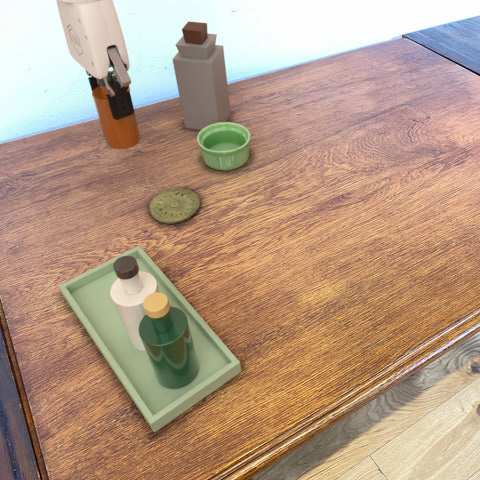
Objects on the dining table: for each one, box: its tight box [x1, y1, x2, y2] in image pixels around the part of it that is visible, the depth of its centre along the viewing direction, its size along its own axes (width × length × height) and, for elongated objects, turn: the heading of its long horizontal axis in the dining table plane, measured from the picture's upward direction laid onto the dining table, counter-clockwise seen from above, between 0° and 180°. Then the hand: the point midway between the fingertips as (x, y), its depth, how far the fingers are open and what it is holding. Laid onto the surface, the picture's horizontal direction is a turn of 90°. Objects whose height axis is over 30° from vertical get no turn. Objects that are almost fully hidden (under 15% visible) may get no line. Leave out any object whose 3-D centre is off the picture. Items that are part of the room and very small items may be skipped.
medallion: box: [148, 187, 202, 225], centre depth 80 cm, size 8×8×1 cm
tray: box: [58, 245, 242, 433], centre depth 63 cm, size 24×11×2 cm, turn 42°
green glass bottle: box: [139, 292, 199, 389], centre depth 55 cm, size 5×5×13 cm
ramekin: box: [196, 121, 252, 171], centre depth 88 cm, size 9×9×4 cm
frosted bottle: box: [110, 256, 160, 351], centre depth 58 cm, size 5×5×13 cm
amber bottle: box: [91, 70, 141, 150], centre depth 78 cm, size 5×5×11 cm
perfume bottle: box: [172, 21, 232, 131], centre depth 91 cm, size 7×7×18 cm
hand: (114, 106), depth 77 cm, fingers closed on amber bottle, 5 cm apart
